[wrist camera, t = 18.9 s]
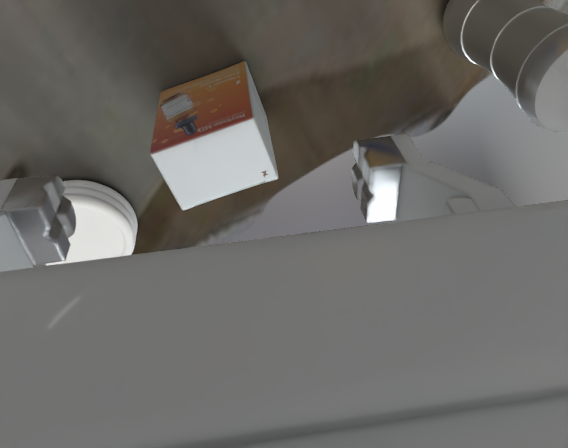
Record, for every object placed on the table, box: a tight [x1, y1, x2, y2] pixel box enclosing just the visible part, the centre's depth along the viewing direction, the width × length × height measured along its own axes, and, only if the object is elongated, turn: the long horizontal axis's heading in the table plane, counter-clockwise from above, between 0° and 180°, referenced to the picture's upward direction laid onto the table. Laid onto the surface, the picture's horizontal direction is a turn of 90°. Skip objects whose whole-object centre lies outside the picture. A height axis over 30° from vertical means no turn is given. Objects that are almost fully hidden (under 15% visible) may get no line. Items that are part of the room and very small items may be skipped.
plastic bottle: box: [443, 0, 568, 132], centre depth 33 cm, size 6×7×20 cm
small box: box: [150, 61, 278, 210], centre depth 39 cm, size 8×6×10 cm
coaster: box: [45, 180, 138, 266], centre depth 48 cm, size 10×10×4 cm
